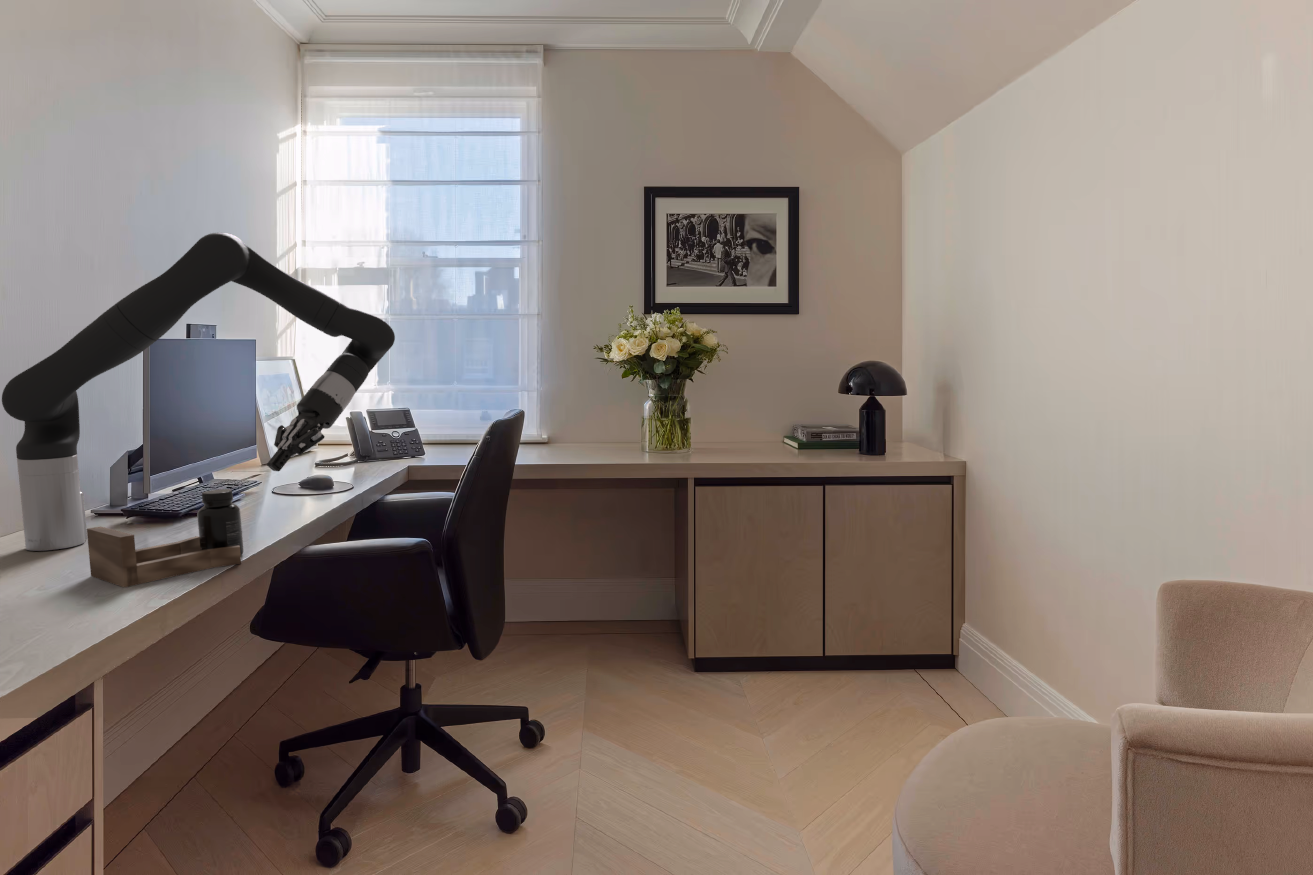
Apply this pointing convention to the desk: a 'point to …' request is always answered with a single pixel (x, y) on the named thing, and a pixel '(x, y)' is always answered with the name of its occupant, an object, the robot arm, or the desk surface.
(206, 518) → the supplement bottle
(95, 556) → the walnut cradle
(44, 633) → the desk surface
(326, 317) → the robot arm
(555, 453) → the desk surface
